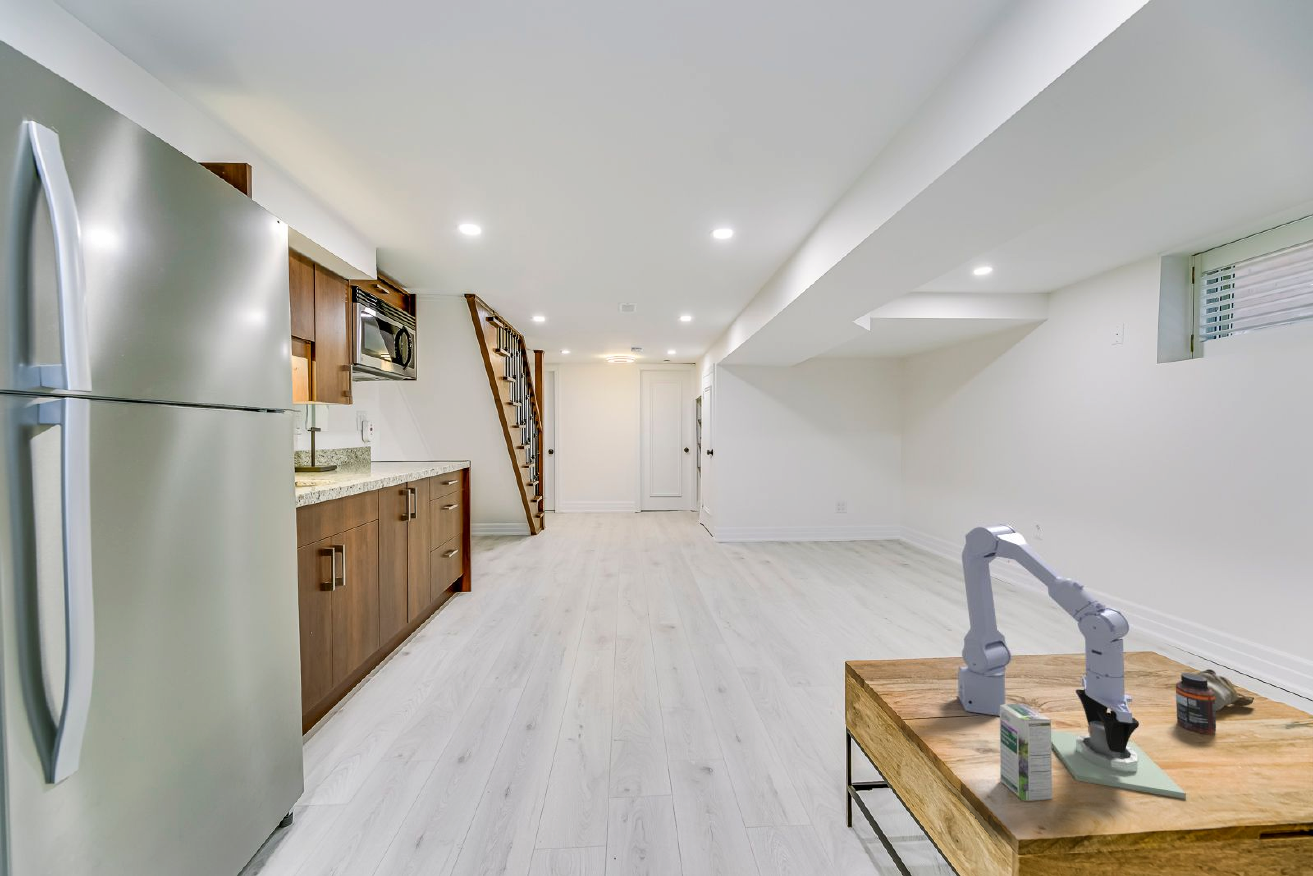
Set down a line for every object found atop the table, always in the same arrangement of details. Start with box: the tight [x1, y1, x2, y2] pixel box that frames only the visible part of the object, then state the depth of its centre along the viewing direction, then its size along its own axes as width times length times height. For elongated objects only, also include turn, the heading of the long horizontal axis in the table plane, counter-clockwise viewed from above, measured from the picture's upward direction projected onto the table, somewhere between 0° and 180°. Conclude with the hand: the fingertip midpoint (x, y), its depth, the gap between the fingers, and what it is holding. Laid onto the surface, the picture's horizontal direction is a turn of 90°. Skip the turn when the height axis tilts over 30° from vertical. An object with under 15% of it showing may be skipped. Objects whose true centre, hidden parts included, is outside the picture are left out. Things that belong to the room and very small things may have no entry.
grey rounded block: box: [1087, 721, 1121, 759], centre depth 99 cm, size 4×5×6 cm
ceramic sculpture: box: [1196, 669, 1255, 712], centre depth 121 cm, size 11×9×15 cm
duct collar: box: [1076, 733, 1139, 773], centre depth 99 cm, size 9×9×2 cm
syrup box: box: [999, 702, 1053, 802], centre depth 92 cm, size 6×6×14 cm
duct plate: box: [1051, 729, 1187, 800], centre depth 99 cm, size 16×16×1 cm
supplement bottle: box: [1175, 672, 1217, 735], centre depth 111 cm, size 6×6×11 cm
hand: (1106, 740), depth 99 cm, fingers open, 7 cm apart
